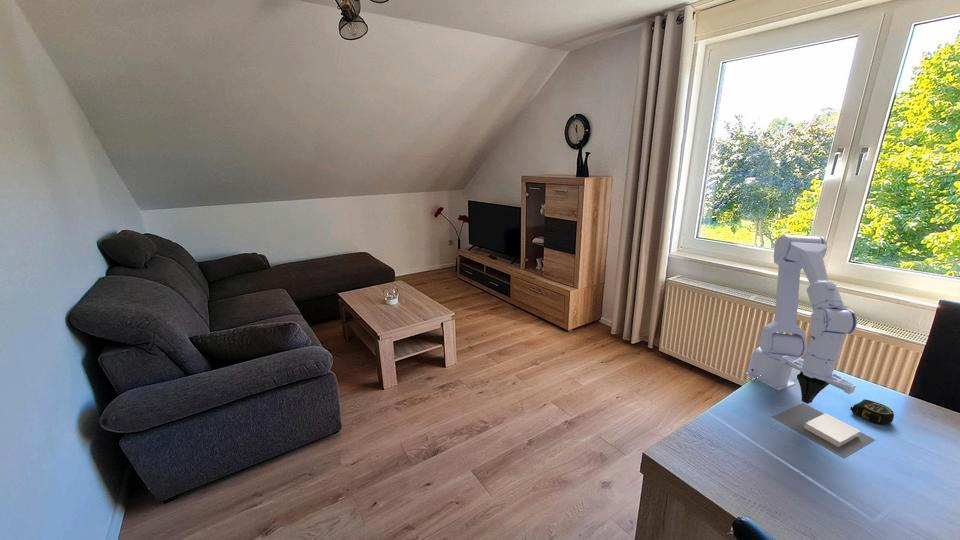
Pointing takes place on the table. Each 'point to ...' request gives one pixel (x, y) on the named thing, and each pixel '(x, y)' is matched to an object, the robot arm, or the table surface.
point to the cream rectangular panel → (832, 430)
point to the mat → (797, 420)
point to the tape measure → (873, 412)
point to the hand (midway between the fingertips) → (806, 401)
